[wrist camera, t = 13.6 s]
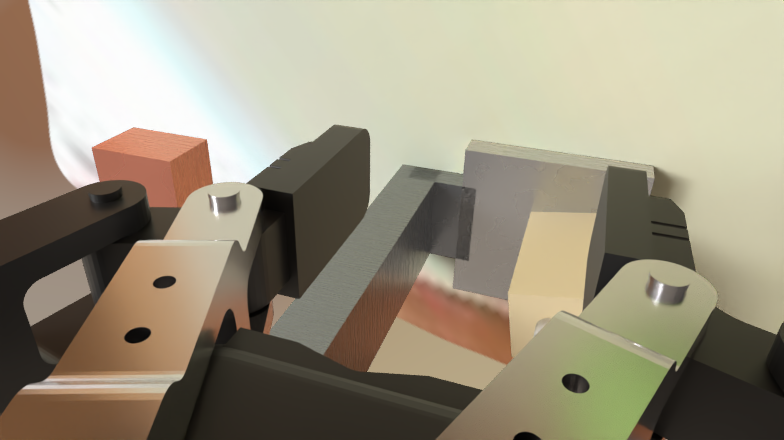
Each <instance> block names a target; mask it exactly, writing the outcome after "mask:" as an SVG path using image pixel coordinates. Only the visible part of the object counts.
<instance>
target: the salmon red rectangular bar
mask: <svg viewBox="0 0 784 440" xmlns="http://www.w3.org/2000/svg"><path fill="white" fill-rule="evenodd" d="M92 151H93V155H94V160H95V164H96V168H97V172H98V176H99V180H100V182H102V181H109V180H129V181H134V182H138V183H140V184H142V185H143V186H144V187H145V188H146V191H147V196H148V201H149V206H150V207H182V206H183V204H184V203H185V201H186V199H187V198H188V196H189V195H190V194H191V193H193V192H194V191H196V190H198V189H200V188H202V187H205V186H208V185H212V184H213V181H212V173H211V166H210V159H209V152H208V144H207V139H201V138H195V137H189V136H182V135H176V134H170V133H164V132H158V131H152V130H146V129H140V128H131V129H129V130H127V131H125V132H123V133H121V134H119V135H117V136H115V137H113V138H111V139H109V140H107V141H104V142H102V143H100V144H98V145H96V146H94V147H92Z"/></svg>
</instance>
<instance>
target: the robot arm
mask: <svg viewBox="0 0 784 440" xmlns="http://www.w3.org/2000/svg"><path fill="white" fill-rule="evenodd" d="M369 196H370V136H369V133H368V131H367V130H366V129H362V128H355V127H348V126H341V125H333V126H332V127H331V128H329V129H328V130H327V131H326V132H325V133H323V134H322V135H321V136H320V137H318V138H317V139H316V140H315V141H313V142H308V143H305V144H302V145H300V146H297V147H294V148H291V149H290V150H289V151H288V152H286V153H285V154H284V155H282V156H281V157H280V159H279V160H278V159H277V160H276V161H275V162H273V163H272V164H271V165H270V167H267V168H266V169H264V170H263V171H262V172H261V173H259V174H258V175H257V176H255V177H254V178H253V179H251V180H250V181H249V182H248V183H246V184H245V183H239V182H225V183H217V184H212V185H208V186H205V187H202V188H200V189H198V190H196V191H194V192H193V193H191V194H190V195H189V196H188V198H187V199H186V201H185V203H184V204H183V206H182V207H150V206H149V201H148V196H147V191H146V188H145V187H144V186H143V185H142V184H140V183H138V182H134V181H129V180H109V181H102V182H97V183H93V184H90V185H87V186H84V187H81V188H79V189H76V190H74V191H72V192H69V193H66V194H64V195H61V196H59V197H56V198H54V199H52V200H49V201H47V202H44V203H41V204H39V205H37V206H34V207H32V208H29V209H26V210H24V211H22V212H19V213H17V214H14V215H12V216H9V217H6V218H4V219H2V220H0V440H665V439H668V440H784V322H783V323H782V325H781V327H780V329H779V331H778V334H777V335H776V334H773V333H770V332H768V331H765V330H763V329H760V328H757V327H755V326H752V325H749V324H747V323H745V322H742V321H740V320H737V319H735V318H733V317H732V316H730V315H728V314H726V313H724V312H723V311H721V310H720V309H718V308H717V307H716V303H717V300H718V295H717V292H716V290H715V288H714V287H713V285H712V284H711V283H710V282H709V281H708V280H707V279H705V278H704V277H703V276H701V275H700V274H698V273H696V270H695V265H694V260H693V255H692V250H691V245H690V241H689V235H688V230H686V229H687V225H686V220H685V215H684V212H683V211H682V210H681V209H680V208H679V207H678V206H677V205H676V204H675V203H674V202H673V201H672V200H671V199H667V198H661V197H655V196H649V194H648V183H647V172H646V171H643V170H636V169H629V168H622V167H616V166H609V165H608V167H607V170H606V174H605V178H604V182H603V187H602V191H601V196H600V200H599V205H598V209H597V213H596V218H595V222H594V227H593V231H592V236H591V241H590V246H589V252H588V258H587V267H586V278H585V288H584V299H583V310H582V313H581V314H580V315H579V316H578V317H577V316H575V315H573V314H571V313H569V312H566V311H563V310H562V311H560V312H558V313H557V314H556V315H554V316H553V317H552V318H551V320H550V321H549V322H548V323H547V324H546V325H545V326H544V327H543V328H542V329H541V330H540V331H539V332H538V333H537V334H536V335H535V336H534V337H533V338H532V339H531V340H530V341H529V343H528V344H527V345H526V346H525V347H524V348H523V349H522V350H521V351H520V352H519V353H518V354H517V355H516V356H515V357H514V358H513V359H512V360H511V361H510V362H509V363H508V364H507V365H506V367H505V368H504V369H503V370H502V371H501V372H500V373H499V374H498V375H497V376H496V377H495V378H494V379H493V380H492V381H491V382H490V383H489V385H487V387H486V388H484V390H480V389H476V388H472V387H469V386H464V385H461V384H457V383H453V382H449V381H445V380H441V379H437V378H434V377H430V376H419V375H404V374H389V373H373V372H360V371H355V370H352V369H349V368H347V367H345V366H343V365H341V364H339V363H337V362H335V361H333V360H332V359H330V358H328V357H326V356H324V355H322V354H320V353H318V352H316V351H314V350H312V349H310V348H308V347H306V346H304V345H302V344H301V343H299V342H295V341H292V340H288V339H284V338H280V337H276V336H272V335H269V334H270V330H271V325H272V320H273V314H274V311H273V301H272V299H273V298H274V297H275V296H276V295H277V294H280V295H284V296H289V297H293V298H297V299H300V298H301V297H302V295H303V294H304V293H305V292H306V290H307V289H308V288H309V286H310V285H311V284H312V283H313V281H314V280H315V279H316V278H317V276H318V275H319V274H320V273H321V271H322V270H323V269H324V268H325V266H326V265H327V264H328V262H329V261H330V260H331V259H332V257H333V256H334V255H335V254H336V252H337V251H338V250H339V249H340V247H341V246H342V245H343V244H344V242H345V241H346V240H347V238H348V237H349V236H350V235H351V233H352V232H353V231H354V230H355V228H356V227H357V226H358V225H359V223H360V222H361V221H362V219H363V218H364V216H365V214H366V211H367V207H368V203H369ZM81 258H82V262H83V266H84V269H85V273H86V276H87V280H88V283H89V287H90V291H91V293H90V294H89V295H87V296H85V297H83V298H81V299H79V300H78V301H76V302H74V303H72V304H70V305H68V306H67V307H65V308H63V309H61V310H59V311H58V312H56V313H54V314H52V315H51V316H49V317H47V318H45V319H43V320H42V321H40V322H38V323H36V324H34V325H33V326H31V327H30V324H29V321H28V319H27V316H26V313H25V310H24V306H23V301H24V297H25V294H26V292H27V290H28V289H29V288H30V287H31V286H32V284H34V283H35V282H36V281H38V280H39V279H41V278H43V277H45V276H47V275H49V274H51V273H53V272H55V271H57V270H59V269H61V268H63V267H65V266H67V265H69V264H71V263H73V262H75V261H77V260H79V259H81Z"/></svg>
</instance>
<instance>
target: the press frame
mask: <svg viewBox="0 0 784 440" xmlns="http://www.w3.org/2000/svg"><path fill="white" fill-rule="evenodd" d="M608 165H609V166H616V167H622V168H629V169H636V170H643V171H646V172H647V183H648V194H649V196H650V194H651V190H652V186H653V183H654V179H655V177H654V168H653V166H650V165H643V164H636V163H629V162H622V161H615V160H608V159H602V158H595V157H588V156H581V155H574V154H567V153H560V152H553V151H546V150H539V149H532V148H526V147H519V146H512V145H505V144H498V143H491V142H484V141H477V140H471V142H470V144H469V145H468V147H467V149H466V151H465V162H464V173H463V174H458V173H452V172H446V171H440V170H433V169H427V168H421V167H415V166H409V165H402V166H401V168H400V169H399V170H398V171H397V173H396V174H395V175H394V176H393V178H392V179H391V180H390V181H389V183H388V184H387V185H386V186H385V188H384V189H383V190H382V191H381V193H380V194H379V195H378V196H377V198H376V199H375V200H374V201H373V203H372V204H371V205H370V206H369V208H368V209H367V211H366V214H365V216H364V218H363V219H362V221H361V222H360V223H359V225H358V226H357V227H356V228H355V230H354V231H353V232H352V233H351V235H350V236H349V237H348V238H347V240H346V241H345V242H344V244H343V245H342V246H341V247H340V249H339V250H338V251H337V252H336V254H335V255H334V256H333V257H332V259H331V260H330V261H329V262H328V264H327V265H326V266H325V268H324V269H323V270H322V271H321V273H320V274H319V275H318V276H317V278H316V279H315V280H314V281H313V283H312V284H311V285H310V286H309V288H308V289H307V290H306V292H305V293H304V294H303V295H302V297H301V298H300V299H297V298H296V299H295V300H294V301H293V302H292V304H291V305H290V306H289V307H288V309H287V310H286V311H285V312H284V314H283V315H282V316H281V317H280V319H279V320H278V321H277V322H276V324H275V325H274V326H273V327H272V329H271V330H270V334H269V335H272V336H276V337H280V338H284V339H288V340H292V341H295V342H299V343H301V344H302V345H304V346H306V347H308V348H310V349H312V350H314V351H316V352H318V353H320V354H322V355H324V356H326V357H328V358H330V359H332V360H333V361H335V362H337V363H339V364H341V365H343V366H345V367H347V368H349V369H352V370H355V371H360V372H367V371H368V369H369V367H370V365H371V363H372V361H373V359H374V358H375V356H376V354H377V352H378V350H379V348H380V346H381V344H382V343H383V341H384V339H385V337H386V335H387V333H388V331H389V329H390V327H391V325H392V324H393V322H394V320H395V318H396V316H397V314H398V312H399V310H400V309H401V307H402V305H403V303H404V301H405V299H406V297H407V295H408V293H409V292H410V290H411V288H412V286H413V284H414V282H415V280H416V278H417V276H418V275H419V273H420V271H421V269H422V267H423V265H424V263H425V261H426V259H427V258H428V256H429V254H430V253H431V254H436V255H441V256H446V257H451V258H456V259H455V269H454V280H453V288H454V289H459V290H463V291H468V292H473V293H477V294H482V295H487V296H491V297H496V298H501V299H505V300H508V291H509V288H510V284H511V281H512V277H513V274H514V270H515V266H516V263H517V259H518V256H519V252H520V249H521V245H522V242H523V238H524V234H525V231H526V227H527V224H528V220H529V217H530V213H531V212H569V213H597V209H598V205H599V200H600V196H601V191H602V187H603V182H604V178H605V174H606V170H607V167H608Z"/></svg>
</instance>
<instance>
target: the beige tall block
mask: <svg viewBox="0 0 784 440" xmlns="http://www.w3.org/2000/svg"><path fill="white" fill-rule="evenodd" d="M595 218H596V213H569V212H531V213H530V217H529V220H528V224H527V227H526V231H525V234H524V238H523V242H522V245H521V249H520V252H519V256H518V259H517V263H516V266H515V270H514V274H513V277H512V281H511V284H510V288H509V291H508V304H509V321H510V338H511V355H512V357H515V356H516V355H517V354H518V353H519V352H520V351H521V350H522V349H523V348H524V347H525V346H526V345H527V344H528V343H529V341H530V340H531V339H532V338H533V337H534V336H535V335H536V334H537V333H538V332H539V331H540V330H541V329H542V328H543V327H544V326H545V325H546V324H547V323H548V322H549V321H550V320H551V318H552V317H553V316H554V315H556V314H557V313H558V312H560V311H562V310H563V311H566V312H569V313H571V314H573V315H575V316H577V317H578V316H579V315H580V314H581V313H582V310H583V299H584V288H585V278H586V267H587V258H588V252H589V246H590V241H591V236H592V231H593V227H594V222H595Z"/></svg>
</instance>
